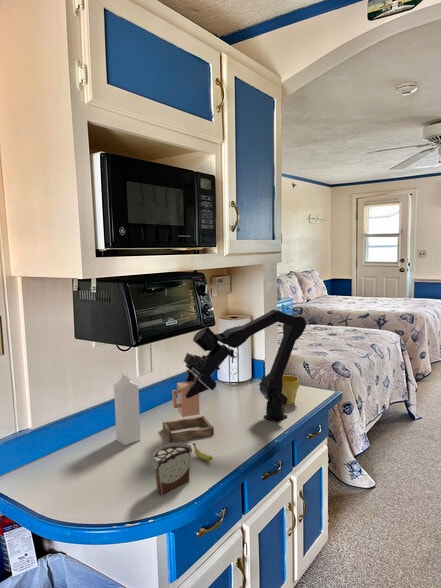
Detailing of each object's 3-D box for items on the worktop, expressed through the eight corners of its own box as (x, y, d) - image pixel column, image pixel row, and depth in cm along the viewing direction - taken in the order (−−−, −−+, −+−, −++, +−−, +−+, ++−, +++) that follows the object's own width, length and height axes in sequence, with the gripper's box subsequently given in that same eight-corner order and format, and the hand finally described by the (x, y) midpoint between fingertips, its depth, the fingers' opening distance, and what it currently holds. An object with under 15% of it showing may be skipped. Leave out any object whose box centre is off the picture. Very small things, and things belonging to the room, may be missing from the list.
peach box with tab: (194, 408, 154) (193, 380, 153) (199, 414, 149) (198, 385, 147) (171, 411, 151) (170, 383, 150) (175, 418, 146) (174, 389, 145)
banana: (191, 456, 134) (191, 443, 133) (195, 454, 135) (195, 441, 134) (210, 464, 128) (210, 451, 128) (214, 462, 129) (214, 449, 129)
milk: (124, 445, 142) (120, 379, 139) (116, 439, 146) (112, 375, 144) (141, 440, 145) (138, 375, 143) (133, 434, 150) (129, 371, 147)
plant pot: (287, 395, 185) (287, 373, 184) (304, 402, 176) (304, 379, 175) (268, 400, 180) (268, 377, 179) (284, 408, 171) (284, 384, 170)
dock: (204, 422, 159) (203, 416, 158) (213, 434, 148) (213, 427, 148) (162, 429, 154) (162, 422, 153) (169, 442, 143) (169, 434, 143)
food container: (178, 472, 124) (177, 438, 123) (193, 480, 120) (192, 445, 119) (143, 490, 115) (141, 454, 114) (157, 499, 111) (156, 461, 110)
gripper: (190, 339, 158) (161, 373, 155) (206, 350, 140) (173, 388, 138) (211, 358, 161) (183, 391, 159) (229, 371, 144) (198, 409, 141)
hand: (184, 394), depth 149 cm, fingers closed on peach box with tab, 6 cm apart
